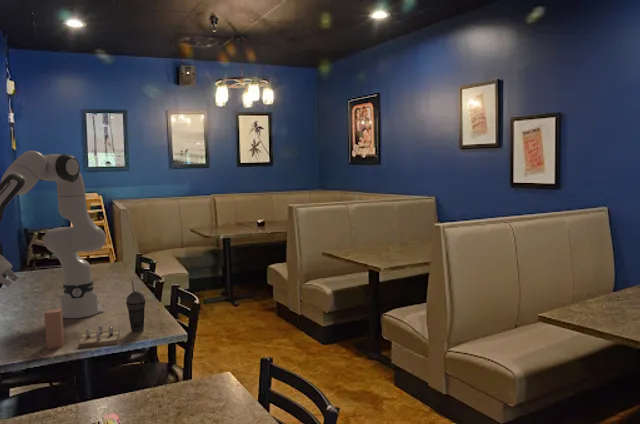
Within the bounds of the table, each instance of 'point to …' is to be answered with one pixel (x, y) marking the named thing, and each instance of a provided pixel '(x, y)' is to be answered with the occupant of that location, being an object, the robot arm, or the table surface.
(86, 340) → the pin plate
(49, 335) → the terracotta post
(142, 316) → the beverage cup
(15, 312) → the table surface
